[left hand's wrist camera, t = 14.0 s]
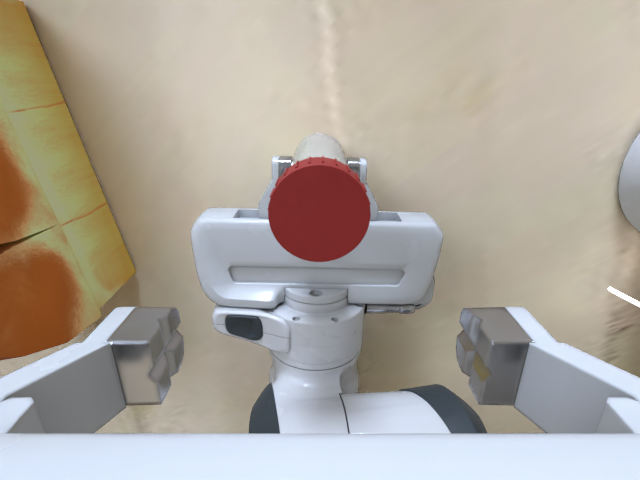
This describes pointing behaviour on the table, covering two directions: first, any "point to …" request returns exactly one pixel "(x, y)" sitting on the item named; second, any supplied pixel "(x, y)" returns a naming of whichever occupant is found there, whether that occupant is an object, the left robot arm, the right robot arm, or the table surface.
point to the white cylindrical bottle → (319, 148)
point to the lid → (319, 209)
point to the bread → (47, 206)
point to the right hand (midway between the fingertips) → (319, 157)
